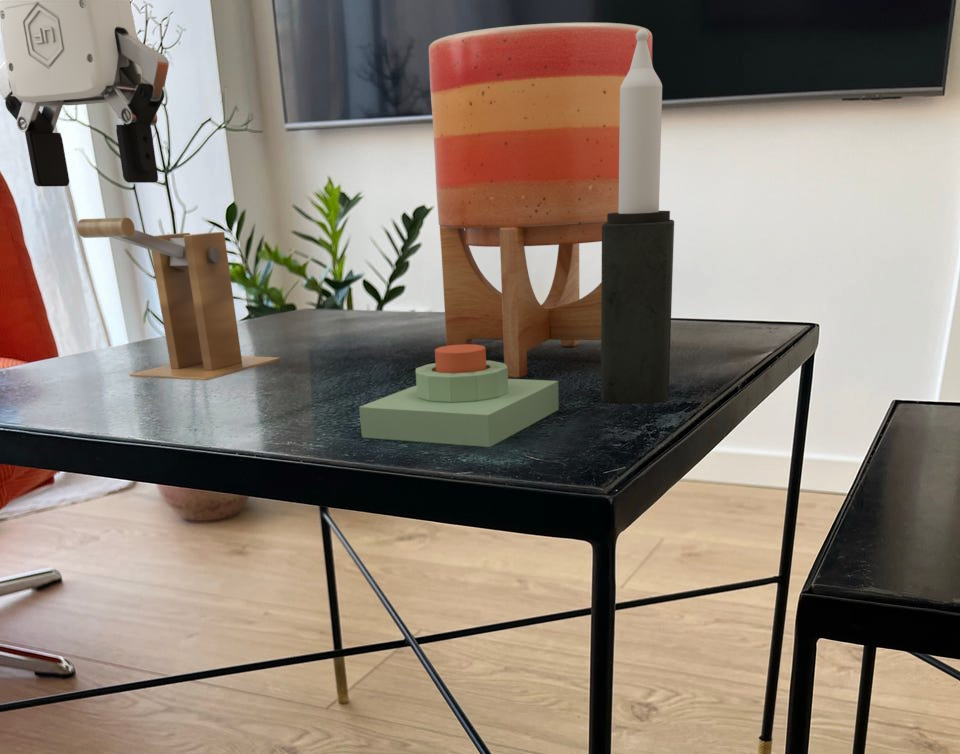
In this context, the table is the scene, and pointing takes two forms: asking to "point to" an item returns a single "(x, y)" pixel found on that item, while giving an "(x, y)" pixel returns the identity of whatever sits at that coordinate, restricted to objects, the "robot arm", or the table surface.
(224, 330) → the bracket
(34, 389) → the table surface
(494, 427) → the button box
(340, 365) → the table surface
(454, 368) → the button
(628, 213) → the candle
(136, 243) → the lever
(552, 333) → the planter
